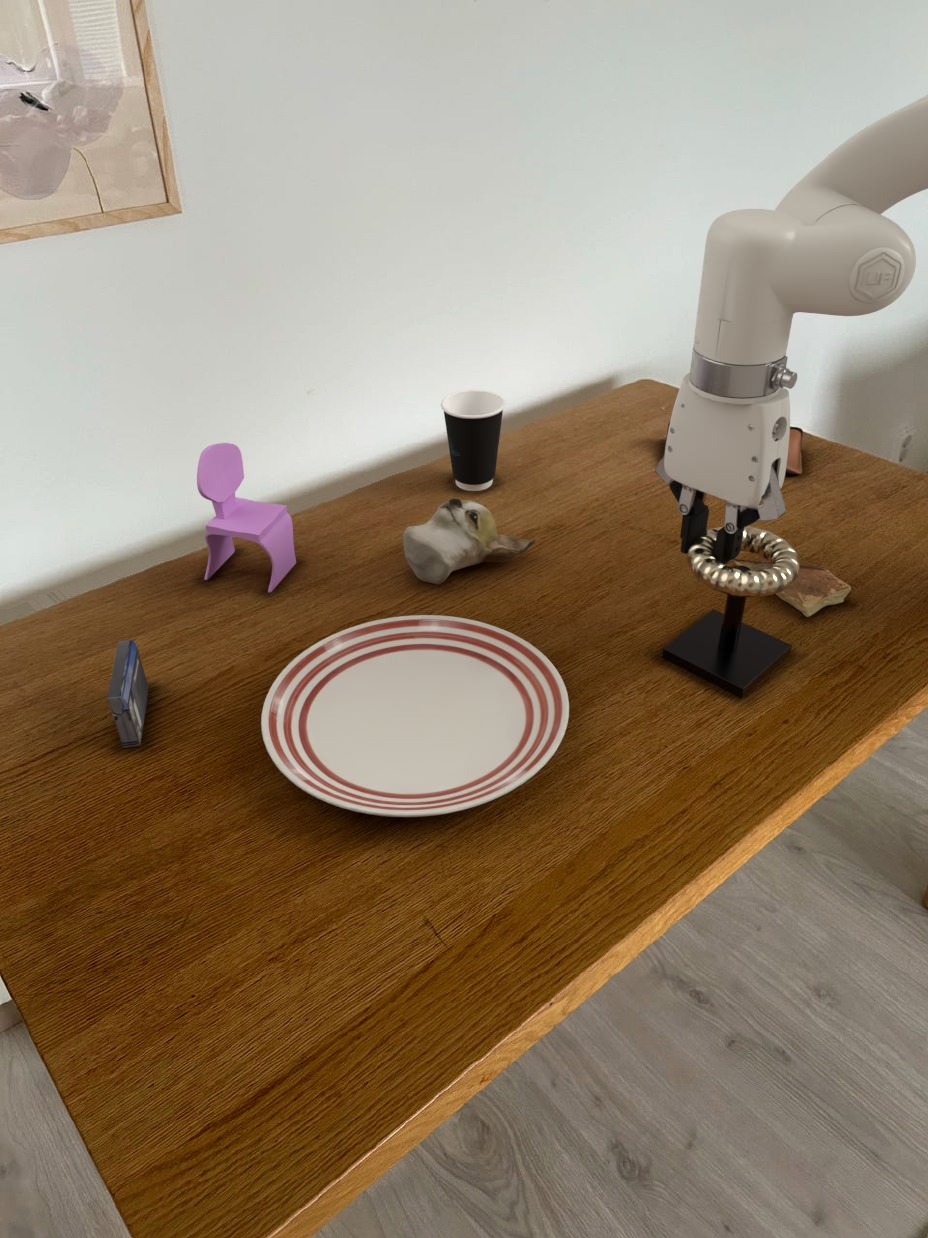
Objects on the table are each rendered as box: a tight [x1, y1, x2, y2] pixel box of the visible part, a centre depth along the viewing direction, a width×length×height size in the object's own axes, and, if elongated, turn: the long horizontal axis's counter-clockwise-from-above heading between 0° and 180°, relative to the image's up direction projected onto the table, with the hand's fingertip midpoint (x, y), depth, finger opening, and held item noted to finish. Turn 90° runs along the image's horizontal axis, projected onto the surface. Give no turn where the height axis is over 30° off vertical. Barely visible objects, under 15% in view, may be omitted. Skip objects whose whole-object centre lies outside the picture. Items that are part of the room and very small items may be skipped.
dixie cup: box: [440, 389, 507, 492], centre depth 123 cm, size 8×8×11 cm
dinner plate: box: [260, 614, 570, 818], centre depth 89 cm, size 28×27×3 cm
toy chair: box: [196, 442, 297, 593], centre depth 106 cm, size 8×9×15 cm
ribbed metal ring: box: [686, 525, 801, 599], centre depth 90 cm, size 10×10×2 cm
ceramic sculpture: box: [402, 498, 536, 585], centre depth 109 cm, size 11×9×15 cm
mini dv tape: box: [107, 639, 150, 749], centre depth 89 cm, size 8×2×6 cm, turn 9°
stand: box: [661, 565, 793, 699], centre depth 94 cm, size 9×9×10 cm
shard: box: [732, 558, 852, 618], centre depth 106 cm, size 11×8×2 cm
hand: (708, 552), depth 93 cm, fingers closed on ribbed metal ring, 2 cm apart
